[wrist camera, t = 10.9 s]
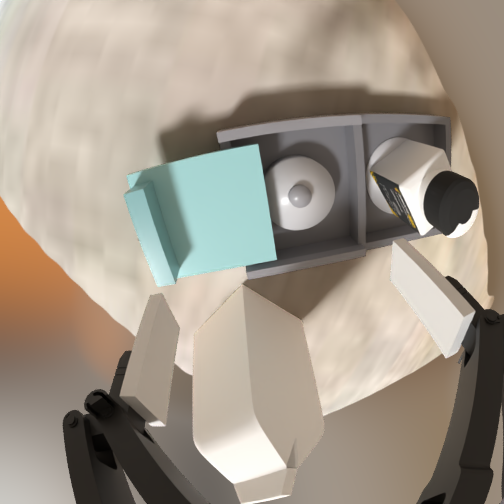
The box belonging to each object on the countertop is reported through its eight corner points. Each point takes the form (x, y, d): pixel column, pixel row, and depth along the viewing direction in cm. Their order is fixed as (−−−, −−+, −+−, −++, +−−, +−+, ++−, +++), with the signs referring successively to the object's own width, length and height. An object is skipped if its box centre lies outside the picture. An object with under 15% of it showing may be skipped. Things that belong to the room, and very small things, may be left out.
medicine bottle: (367, 170, 29) (429, 204, 18) (407, 138, 27) (477, 159, 16) (392, 213, 32) (448, 260, 21) (428, 182, 30) (490, 217, 19)
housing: (218, 130, 27) (216, 132, 23) (433, 114, 26) (456, 118, 22) (245, 258, 34) (248, 279, 30) (431, 222, 34) (449, 236, 30)
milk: (242, 283, 36) (260, 487, 14) (301, 320, 40) (348, 484, 18) (194, 333, 40) (182, 500, 17) (251, 361, 44) (266, 507, 22)
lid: (129, 174, 25) (114, 183, 21) (257, 143, 24) (261, 147, 21) (164, 276, 30) (157, 296, 27) (275, 256, 30) (281, 275, 27)
